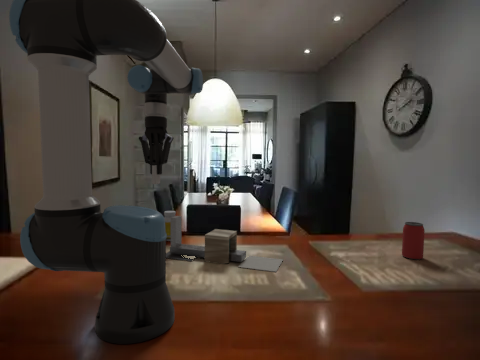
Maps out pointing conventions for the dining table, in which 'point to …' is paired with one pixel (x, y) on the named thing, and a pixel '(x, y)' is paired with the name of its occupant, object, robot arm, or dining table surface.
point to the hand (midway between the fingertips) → (156, 183)
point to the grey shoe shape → (176, 256)
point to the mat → (261, 263)
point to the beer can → (413, 240)
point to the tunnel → (219, 245)
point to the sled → (192, 249)
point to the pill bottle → (168, 223)
